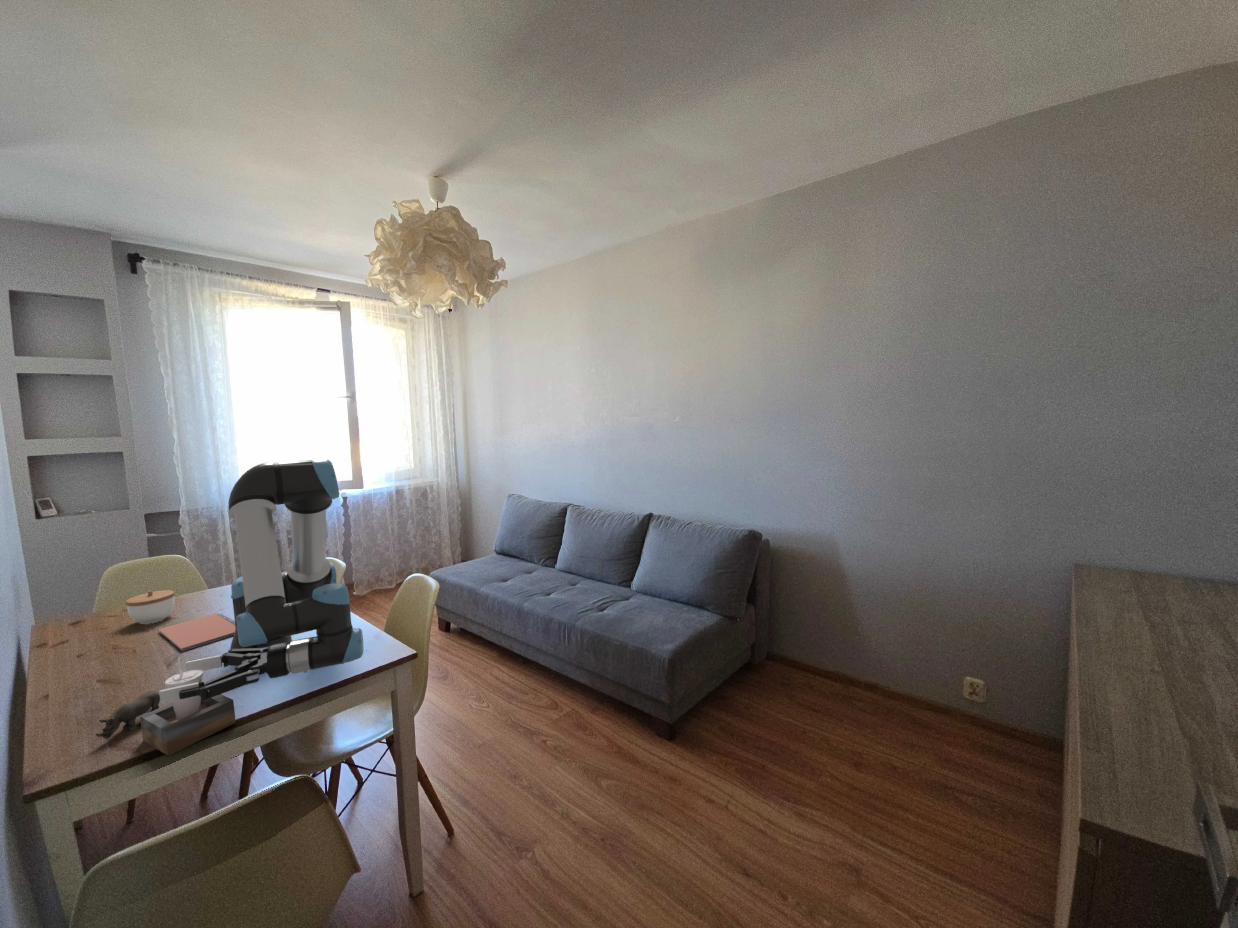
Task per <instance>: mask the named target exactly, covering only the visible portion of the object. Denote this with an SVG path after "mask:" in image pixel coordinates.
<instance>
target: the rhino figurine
mask: <svg viewBox="0 0 1238 928" xmlns="http://www.w3.org/2000/svg"><path fill="white" fill-rule="evenodd" d="M160 703H161V702H160V695H159V692H157V691H155V690H148V691H146V692H144V693H142V694H140V695H139V696H138V697H137V698H135V699H134V700H132V701H131V702H126V703H123V704H122V705H120V706H119V707H118V708H116V709H115V710H114V711H113V712H112V714H111V715H109V716H108V718H103V719H98V722H100V723H102V724H103V723H105V727H104V728H102V729H101V730H102V733H95V736H96V737H98V738H101V737H102V738H103V739H105V740H109V739H110V738H111V737H112V735H114V734H115V732H116V731H117V730H118V729H119V727H120V725H121V723H124V725H123V726H122V729H127V730H128V731H130V732H131V731H134V730H136V729H137V727H138V725H137V724H136V719H137V717H140V716H142V715H144V714H147V712H148V711H149V710H150V709H151V710H150V711H149V712H152V711H154V710H156V709H159V708H160V705H159V704H160Z"/></svg>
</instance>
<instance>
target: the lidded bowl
mask: <svg viewBox="0 0 1238 928" xmlns="http://www.w3.org/2000/svg"><path fill="white" fill-rule="evenodd" d="M175 603H176V599H175V591H174V590H170V589H167V590H165V589H164V590H156V591H153V590H152V589H151V590H147V592H145V593H142V594H138V595H135V596H133V597H130V598H128V599H127V600H126V601H125V605H126V610H127V613H128V615H129V617H130V618H131V620H133V621H134V622H136V623H138V624H140V625H142V624H145V625H151V624H150V623H152V624H155V623H154V622H156V623H158V622H157V621H160V620H162V619H165V618H166V617H167V618H168V616H170V615H171V613H172V612H173V610H174V608H175ZM167 618H166V619H167ZM166 619H165V620H166ZM162 621H163V620H162ZM160 622H161V621H160Z"/></svg>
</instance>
